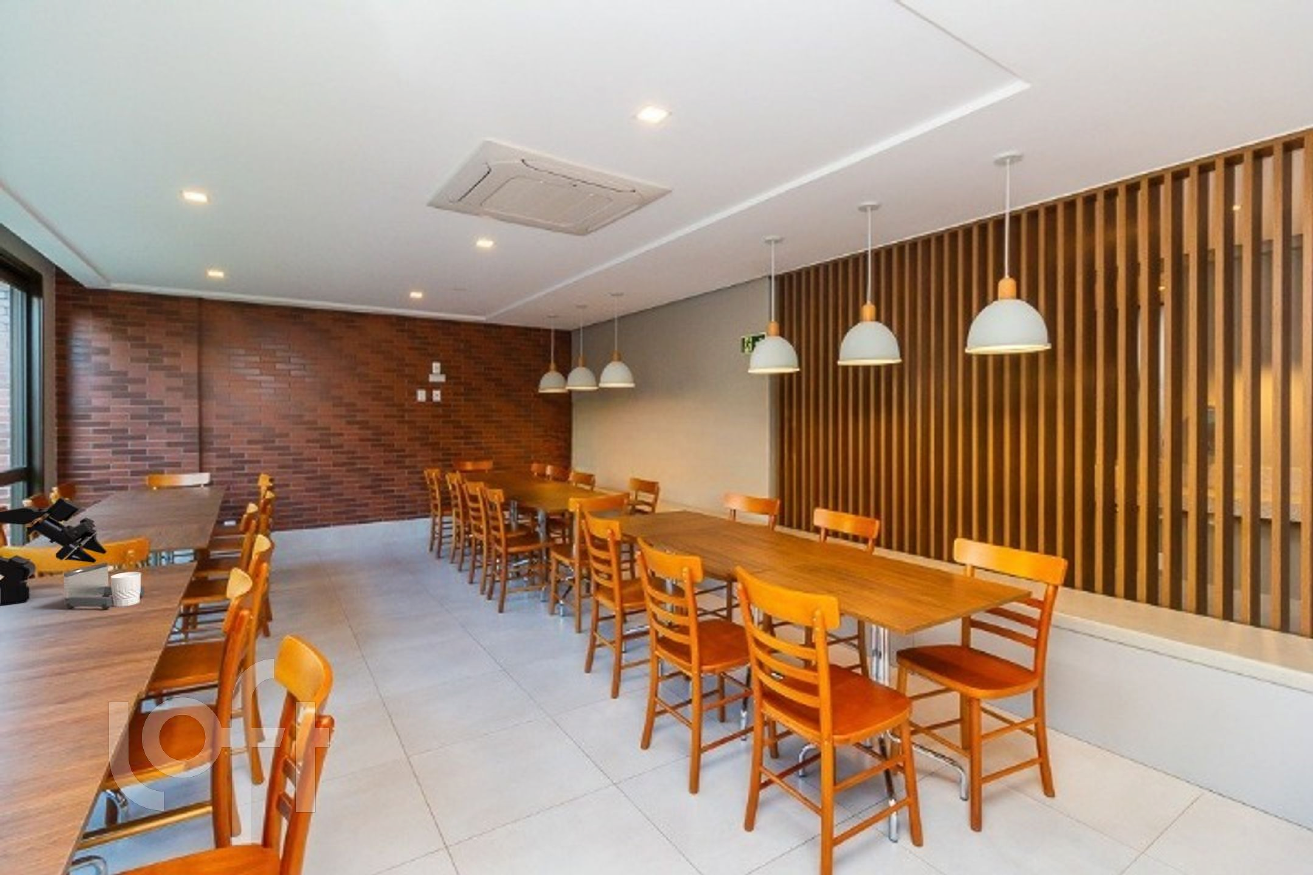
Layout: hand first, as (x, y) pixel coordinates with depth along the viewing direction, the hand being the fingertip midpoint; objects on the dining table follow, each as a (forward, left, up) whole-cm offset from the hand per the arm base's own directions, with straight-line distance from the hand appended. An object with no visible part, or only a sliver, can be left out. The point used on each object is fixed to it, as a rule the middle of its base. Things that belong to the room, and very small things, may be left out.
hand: (100, 557), depth 224 cm
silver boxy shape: (+1, -18, -13) cm, 22 cm away
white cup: (+7, -23, -13) cm, 27 cm away
